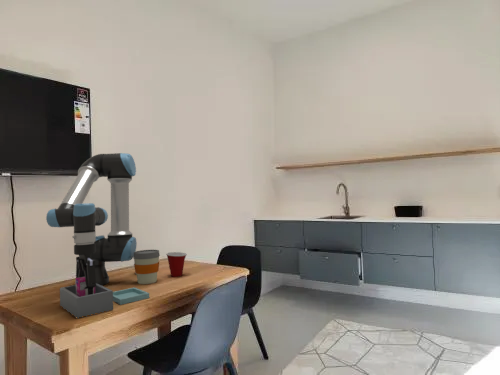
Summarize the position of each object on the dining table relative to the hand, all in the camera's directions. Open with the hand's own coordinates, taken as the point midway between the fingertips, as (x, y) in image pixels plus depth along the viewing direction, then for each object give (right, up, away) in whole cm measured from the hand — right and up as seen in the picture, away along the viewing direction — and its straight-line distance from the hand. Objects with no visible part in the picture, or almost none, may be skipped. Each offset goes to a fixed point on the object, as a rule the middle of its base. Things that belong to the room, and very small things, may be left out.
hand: (85, 302), depth 129 cm
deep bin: (0, -2, 0) cm, 2 cm away
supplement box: (0, -2, 0) cm, 2 cm away
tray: (+12, -2, +11) cm, 17 cm away
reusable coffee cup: (+12, -3, +39) cm, 40 cm away
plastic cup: (+24, -3, +50) cm, 56 cm away
